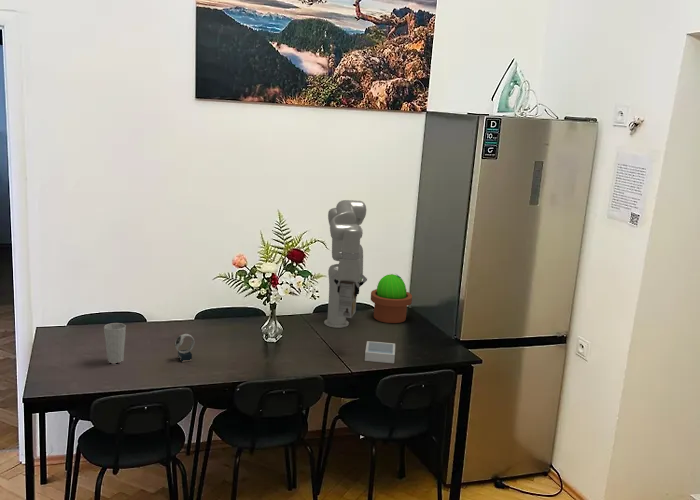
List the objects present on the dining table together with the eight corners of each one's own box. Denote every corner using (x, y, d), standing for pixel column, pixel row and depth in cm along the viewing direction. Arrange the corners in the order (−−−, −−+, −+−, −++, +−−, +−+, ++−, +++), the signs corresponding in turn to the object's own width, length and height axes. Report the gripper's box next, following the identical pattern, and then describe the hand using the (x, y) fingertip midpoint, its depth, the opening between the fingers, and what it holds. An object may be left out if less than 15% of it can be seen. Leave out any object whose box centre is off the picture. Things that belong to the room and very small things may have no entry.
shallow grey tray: (366, 349, 285) (367, 341, 285) (394, 351, 285) (395, 343, 284) (364, 360, 272) (365, 352, 271) (394, 363, 271) (394, 354, 270)
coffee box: (342, 310, 281) (344, 276, 277) (355, 312, 279) (358, 278, 276) (337, 316, 272) (339, 281, 268) (351, 318, 271) (353, 283, 267)
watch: (173, 358, 262) (173, 333, 259) (192, 355, 266) (192, 331, 263) (176, 363, 257) (176, 338, 255) (195, 360, 261) (196, 335, 259)
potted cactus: (370, 323, 321) (373, 277, 316) (368, 310, 343) (371, 267, 337) (412, 326, 322) (416, 279, 316) (407, 313, 343) (411, 269, 338)
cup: (114, 367, 249) (113, 331, 245) (99, 362, 253) (99, 326, 249) (131, 361, 256) (130, 325, 253) (116, 356, 260) (116, 321, 257)
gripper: (329, 256, 267) (327, 295, 271) (369, 259, 265) (366, 299, 269) (331, 252, 274) (329, 290, 278) (370, 255, 273) (368, 294, 277)
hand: (348, 294), depth 274 cm, fingers closed on coffee box, 6 cm apart
